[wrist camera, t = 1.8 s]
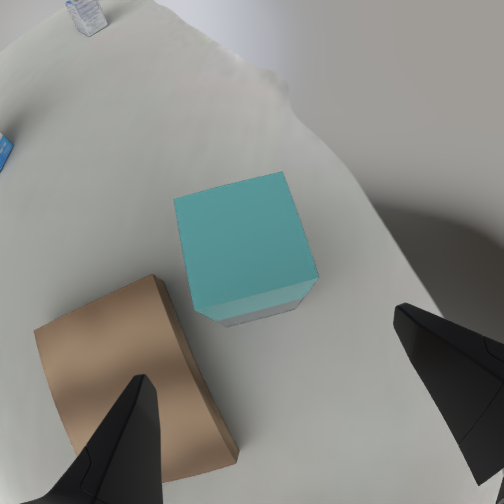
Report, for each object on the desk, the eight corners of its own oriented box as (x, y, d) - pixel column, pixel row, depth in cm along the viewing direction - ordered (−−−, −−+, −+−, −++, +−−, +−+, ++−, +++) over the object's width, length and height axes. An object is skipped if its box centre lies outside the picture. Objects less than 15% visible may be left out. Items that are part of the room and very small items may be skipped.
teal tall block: (294, 309, 21) (318, 277, 11) (226, 327, 21) (194, 310, 11) (275, 245, 22) (282, 171, 13) (211, 262, 22) (173, 199, 13)
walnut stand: (239, 451, 18) (236, 463, 15) (110, 481, 17) (96, 491, 14) (163, 281, 22) (152, 273, 20) (51, 333, 21) (33, 330, 18)
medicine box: (109, 25, 37) (95, -8, 29) (88, 38, 37) (73, 4, 28) (96, 20, 39) (83, -9, 31) (78, 32, 39) (64, 2, 30)
